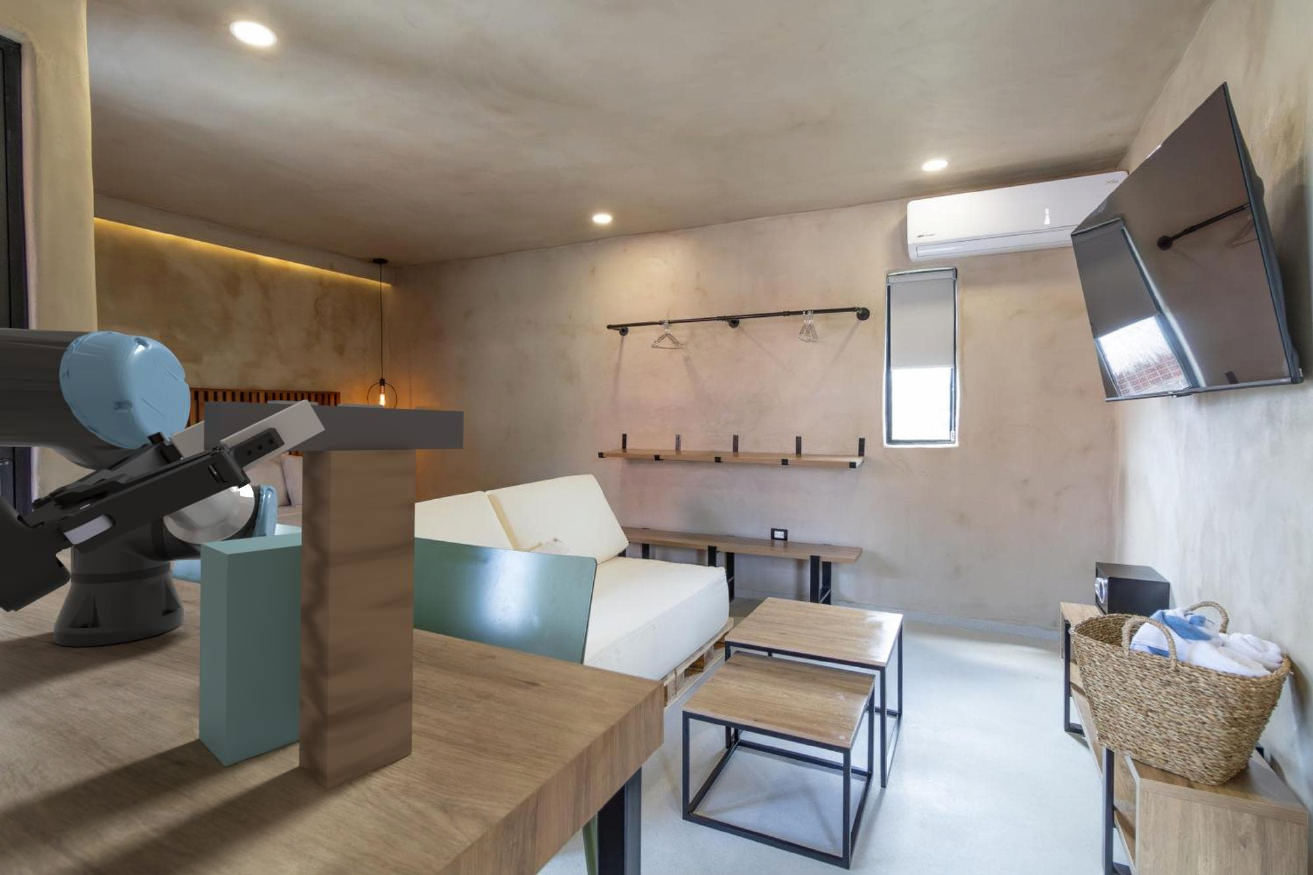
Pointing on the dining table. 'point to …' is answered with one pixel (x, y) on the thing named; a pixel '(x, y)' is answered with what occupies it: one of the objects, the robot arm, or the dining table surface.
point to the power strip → (345, 425)
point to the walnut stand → (356, 611)
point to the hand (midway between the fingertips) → (281, 414)
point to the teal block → (250, 645)
